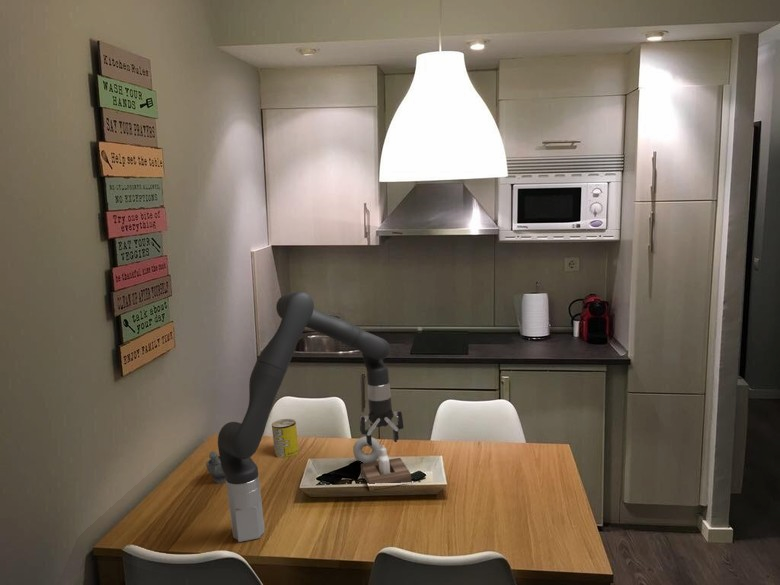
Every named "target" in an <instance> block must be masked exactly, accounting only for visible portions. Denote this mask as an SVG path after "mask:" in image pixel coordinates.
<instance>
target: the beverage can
mask: <svg viewBox="0 0 780 585" xmlns="http://www.w3.org/2000/svg"><path fill="white" fill-rule="evenodd" d="M271 429H272V431H271V432H272V440H273V447H274V448H273V449H274V457H276V458H278V459H279V458H280V459H286V458H287V459H288V458H292V457H295V456H297V455H298V454H299V452H300V450H299V440H298V432H297V421H296V419H294V418H293V419H292V418H283V419H278V420H275V421H273V422H272V423H271Z"/></svg>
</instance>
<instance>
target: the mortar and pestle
mask: <svg viewBox="0 0 780 585" xmlns="http://www.w3.org/2000/svg"><path fill="white" fill-rule="evenodd" d="M208 457H209V459H207V461H206V462H205V466H206V469H207V471H208V473H209V474H210V476H211V477H212V478H213V481H214V482H213V483H215V484H216V483H217V484H222V482H223V483H226V477H225V474H224V472H223V470H222V467H221V461H220V456H219V455H218V453H217V451H214V450H213V451H211V452H209V455H208Z"/></svg>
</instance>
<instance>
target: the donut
mask: <svg viewBox="0 0 780 585" xmlns="http://www.w3.org/2000/svg"><path fill="white" fill-rule="evenodd" d="M371 439H372V446H369V445H368V443H367V440H366V435H365V436H361V437H359V438H358V439H357V440H356V441H355V442H354V445H353V449H352V451H353V452H352V453H353V456H354V458H355V459H356V460H357V461H358V460H359V461H361V462H363V463H362V464H366V463H372V462H377V461H378V457H379V455H380V452H379V449H380V448H381V444H380V442H379V440H377V438H374V437H372V436H371ZM364 447H370V449H371V451H370V453H365V452H364V451H363V449H364ZM359 461H358V462H359ZM361 462H360V463H361Z"/></svg>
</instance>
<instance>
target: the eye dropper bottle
mask: <svg viewBox="0 0 780 585" xmlns="http://www.w3.org/2000/svg"><path fill="white" fill-rule="evenodd" d="M380 447H381V448H380V449H379V452H380V455H379V457H378V459H377V462H378V461H379V473H380V475H382V474H388V473H390V464H389V459H390V457H389V455H388V453H387V452H388V451H387V450H388V449H387V448H386V447H385V445H384V444H380Z"/></svg>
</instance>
